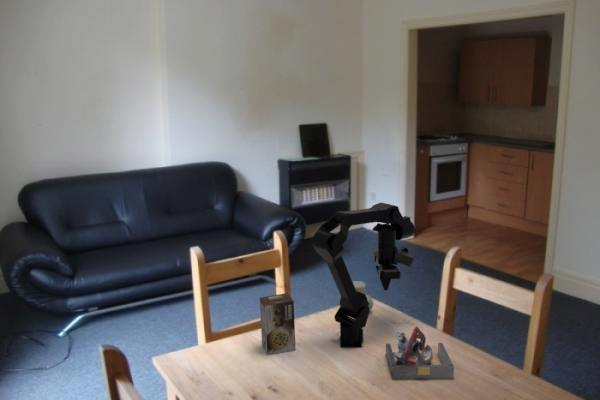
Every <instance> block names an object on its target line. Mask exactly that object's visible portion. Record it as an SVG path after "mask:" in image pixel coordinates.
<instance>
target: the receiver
mask: <svg viewBox="0 0 600 400" xmlns="http://www.w3.org/2000/svg"><path fill="white" fill-rule="evenodd" d="M393 352H394V351H393V349H392V345H391V343H385V356H386V360H387V365H388V368H389V371H390V375H391V379H392V380H441V379H442V380H451V379H452V380H453V379H454V374H455V367H454V364H453V362H452V360H451V358H450V356H449V353H448V351H447V350H446V347H445V345H444V344H443V343H442V342H438V343H437V356H438V358H439V359H440V362H441V364H427V365H402V364H400V365H399V364H398V365H397V363H396V358H395V357H394V355H393Z"/></svg>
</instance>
